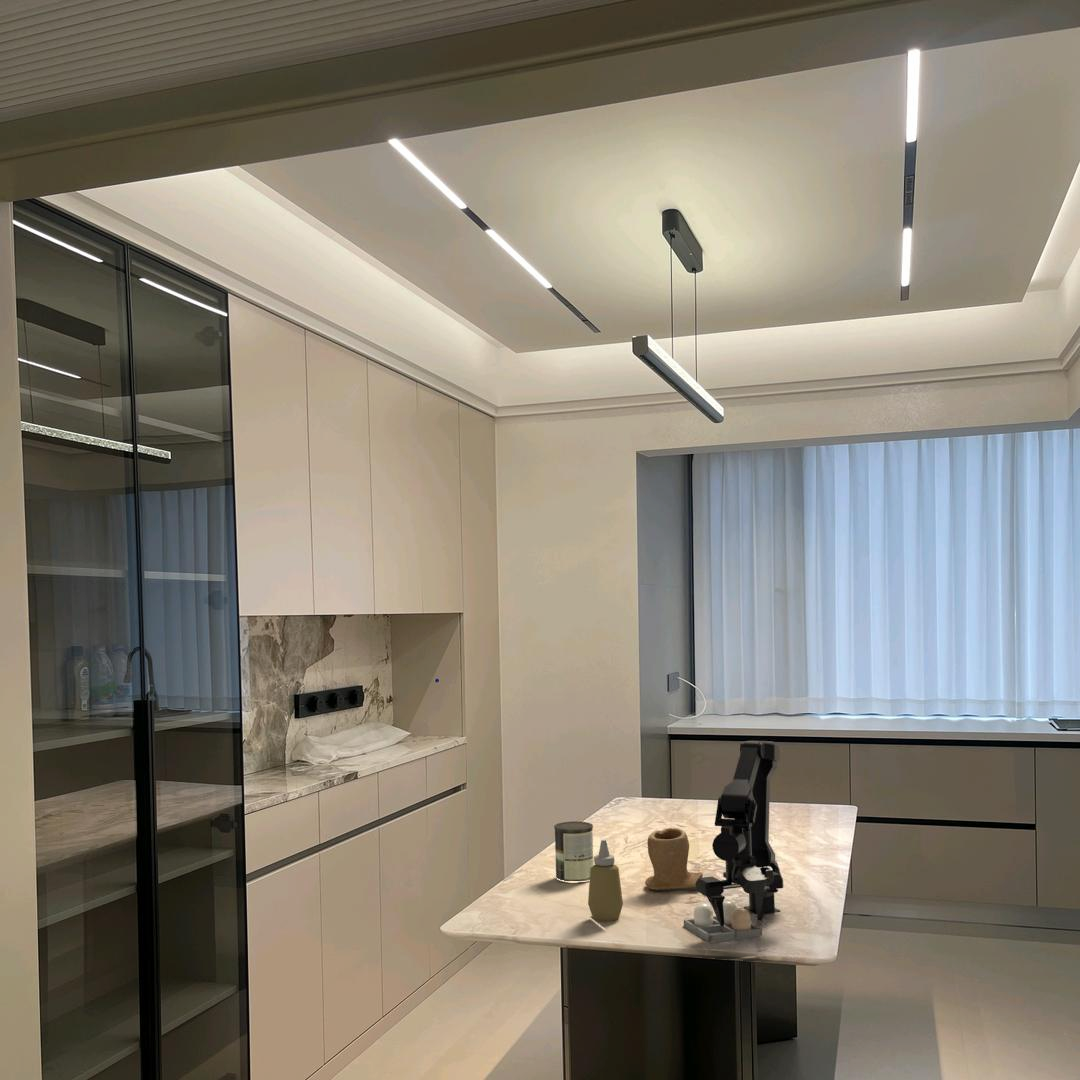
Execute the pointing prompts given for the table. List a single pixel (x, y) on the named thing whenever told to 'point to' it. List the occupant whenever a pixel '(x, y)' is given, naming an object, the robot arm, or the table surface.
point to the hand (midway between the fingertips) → (741, 923)
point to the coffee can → (573, 850)
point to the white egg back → (703, 915)
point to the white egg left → (728, 911)
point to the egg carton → (721, 931)
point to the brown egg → (741, 920)
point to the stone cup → (670, 861)
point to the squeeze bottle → (605, 887)
